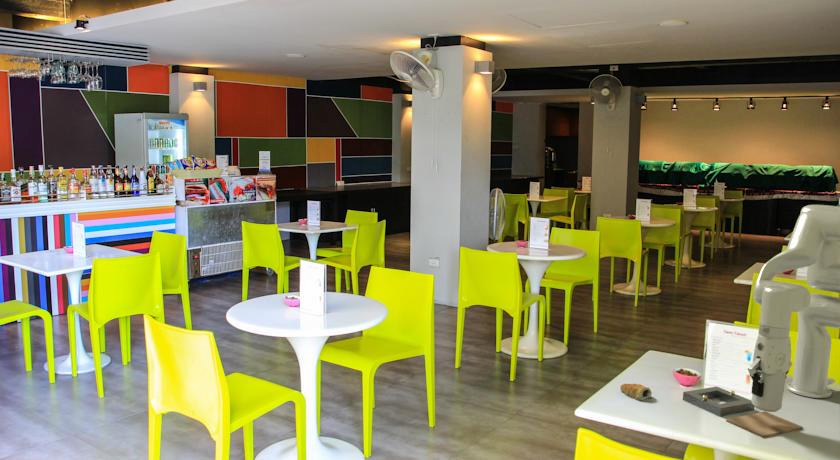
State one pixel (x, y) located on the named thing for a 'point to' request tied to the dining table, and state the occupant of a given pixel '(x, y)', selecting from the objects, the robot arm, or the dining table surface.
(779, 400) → the can
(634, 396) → the pastry
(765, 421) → the mat
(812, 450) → the dining table surface
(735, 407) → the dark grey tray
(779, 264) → the robot arm
